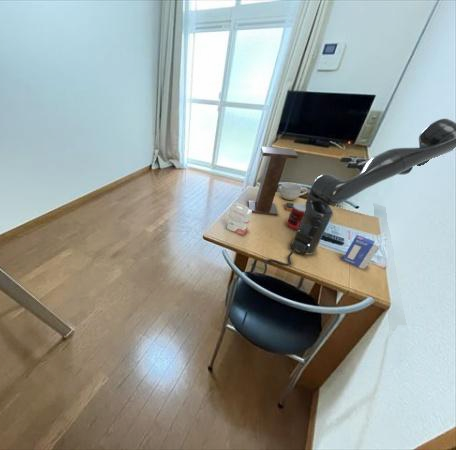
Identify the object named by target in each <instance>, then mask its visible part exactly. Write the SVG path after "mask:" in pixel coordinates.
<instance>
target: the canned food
mask: <svg viewBox="0 0 456 450" xmlns="http://www.w3.org/2000/svg"><path fill="white" fill-rule="evenodd" d="M305 210H306V203H304V202H296V203H294V205H293V207H292V210H290V213H289V216H288V219H287V220H286V226H287V227H288V228H290V229H292V230H295V231H297V229H298V227H299V224H300V222H301V220H302V217H303V215H304V212H305Z"/></svg>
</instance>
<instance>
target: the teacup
mask: <svg viewBox="0 0 456 450" xmlns="http://www.w3.org/2000/svg"><path fill="white" fill-rule="evenodd" d="M304 190H305V191H304ZM302 191H303V192H302ZM307 193H308V188H307V187H303V186H302V185H300V184H298V183H295V182H287V181H286V182H283V183H281V187H280V190H279V195H280V197H281V198H283V199H284V200H288V201H293V200H296V199H298V198H299V197H300V196H303V195H305V194H307Z"/></svg>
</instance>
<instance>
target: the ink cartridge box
mask: <svg viewBox="0 0 456 450" xmlns="http://www.w3.org/2000/svg"><path fill="white" fill-rule="evenodd" d="M251 218H252V210H250V209H249V206H246V205H243V204H240V203H238V202H235V201H232V202H231V206H230V211H229V215H228V220H227V224H226V229H227V230H230V231H232V232H234V233H237V234H238V235H241V236H243V235H244V234H246V233H247V232H248V228H249V225H250V221H251Z"/></svg>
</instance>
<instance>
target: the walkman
mask: <svg viewBox="0 0 456 450" xmlns="http://www.w3.org/2000/svg"><path fill="white" fill-rule="evenodd" d="M381 245H382V243H381V242H378V241H376V240H373V239H370V238H366V237H364V236H361V235H359V234H356V235H355V237H354V239H353V240H352V241H351V244H350V245H349V247H348V249H347V250H346V252H345V253H344V256H343V257H342V259H341V261H344V262H346V263H348V264H350V265H352V266H355V267H357V268H360V269H362V270H365V269H366V267H367V266H368V264H370V261H371V260H372V259H373V257H374V256H375V254H377V252H378V251H379V249H380V247H381Z"/></svg>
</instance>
